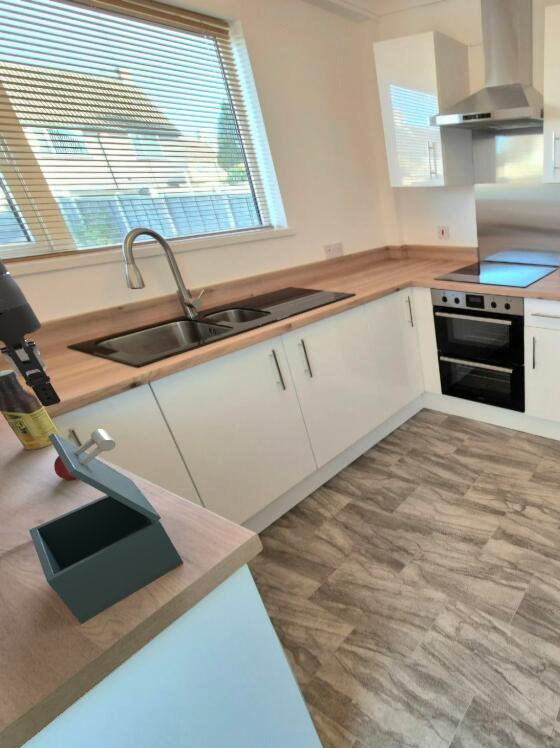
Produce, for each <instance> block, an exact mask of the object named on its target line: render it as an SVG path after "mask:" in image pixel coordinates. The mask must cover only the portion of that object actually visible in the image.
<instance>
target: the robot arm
mask: <svg viewBox="0 0 560 748" xmlns="http://www.w3.org/2000/svg"><path fill="white" fill-rule="evenodd" d="M41 328H42V324H41V322H40V320H39V318H38V317H37V315H36V313H35V311H34V309H33V308H32V306H31V304H30V303H29V301H28V299H27V297H26V295H25V293H24V292H23V290H22V289H21V287H20V285H19V284H18V283H17V281H16V280H15V279H14V278H13V276H12V275H11V274H10V271H8V269H7V267H6V265H5V263H4V262H3V260H2V258H1V257H0V342H1V343H4V345H5V346H1V347H0V353H1V354H2V356H3V358H4V359H5V360H6V362H8V363H9V364H10V365H11V367H12V368H13V369H12V370H13V371H14V372H15V374H16V376H19V377H23V379H24V381H25V385H26V386H28V387H29V388H31V390H32V391H33V394H34V395H35V396H36V397H37V398H38V400H39V402H40V403H41V405H43V407H44V408H45V407H46V408H47V407H48V408H49V407H51V406H54V405H58V404H59V403H61V398H60V397H59V395H58V393H57V392H56V390H55V388H54V386H53V385H52V383H51V380H52V379H51V377H50V375H47V373H46V370H47V369H48V367H47V364H46V363H45V361H44V360H43V359H42V357H41V352H40V351H41V350H40V349H39V348H38V346H37V344H36V343H35V341H34V340H29V341H27V340H26V339H25V336H26V335H28V334H33V333H35V332H37V331H40V330H41Z"/></svg>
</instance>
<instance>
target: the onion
mask: <svg viewBox="0 0 560 748" xmlns="http://www.w3.org/2000/svg"><path fill="white" fill-rule="evenodd" d="M53 467H54V472H55V474H56V475H57V476H58V478H61V479H63V480H67V481H73V480H78V479H77V478H76V477H74V476H72V475H70V474H69V472H68V470H67V469H66V467H65V465H64V463H63V462H62V460H61V458H60V456H59V455H58V456H56V459H55V460H54V464H53Z"/></svg>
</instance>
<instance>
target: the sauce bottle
mask: <svg viewBox="0 0 560 748" xmlns="http://www.w3.org/2000/svg"><path fill="white" fill-rule="evenodd" d="M0 413H1V414H2V417H4V419H5V420H6V422H7V424H8V426H9V427H10V428H11V430H12V432H13V433H14V434H15V436H16V437H17V439H18V441H19V442H20V443H21V445H22V447H23V448H24V449H25V450H27V451H37V450H39V449H43V448H47V447H49V446H53V444H52V442H51V441H50V439H49V437H48V436H50V435H51V434H53V433H55V434H57V435H58V436H60V437H62V435H61V434H60V432H59V431H58V429H57V427H56V425H55V424H54V422H53V421H52V418H51V417H50V416H49V413H48V412H47V410H46V408H45V407H44V406H43V405H42V404H41V402H40V401H39V399H38V397H37V396H36V394H35V393H34V392H31V391H29V390H27V389H25V388H24V386H23V385H22V384H21V382H20V381H19V379H18V378H17V373H16V372H15V370H14V369H5V370H4V369H3V370H0Z"/></svg>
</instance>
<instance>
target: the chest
mask: <svg viewBox="0 0 560 748" xmlns="http://www.w3.org/2000/svg"><path fill="white" fill-rule="evenodd" d="M28 531H29V533H30V536H31V537H30V538H31V540H32V542H33V545H34V548H35V551H36V554H37V557H38V560H39V563H40V566H41V568H42V571H43V574H44V577H45V580H46V582H47V584H48V585H49V586H50V587H51V589H52V590H53V591H54V592H55V593H56V595H57V596H58V598H59V599H60V600H61V601H62V602H63V604H64V605H65V606H66V607H67V609H68V610H69V611H70V612H71V614H72V615H73V616H74V618H76V620H77V621H78V623H80V625H82V624H84V623H86V622H88V621H89V620H90V619H92V618H94V617H96V616H97V615H99V614H101V613H102V612H104V611H106V610H108V609H109V608H111V607H112V606H114V605H116V604H117V603H119V602H121V601H123V600H124V599H126V598H128V597H129V596H131V595H132V594H133V595H134V593H136V592H138V591H139V590H141V589H143V588H144V587H146V586H148V585H149V584H151V583H152V582H154V581H156V580H158V579H159V578H161V577H163V576H164V575H166V574H168V573H169V572H171V571H173V570H174V569H176V568H178V567H179V566H181V565H183V564H184V561H183V559H182V557H181V555H180V554H179V552H178V550H177V549H176V547H175V545H174V544H173V542H172V539H171V538H170V536H169V534H168V533H167V531H166V530H165V528H164V526H163V524H162V523H161V521H160V520H159V521H157V522H155V521H154V520H152V519H150V518H148V517H146V516H145V515H143V514H141V513H139V512H137V511H135V510H134V509H132V508H130V507H128V506H126V505H125V504H123V503H121V502H119V501H117V500H116V499H114V498H112V497H110V496H108V495H106V494H105V495H103V496H101V497H99V498H97V499H95V500H92V501H90V502H88V503H86V504H83V505H81V506H79V507H77V508H75V509H73V510H71V511H67V512H66V513H64V514H61V515H59V516H56V517H55V518H52V519H50V520H48V521H46V522H44V523H41V524H39V525H37V526H35V527H33V528H30V529H29V530H28Z"/></svg>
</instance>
